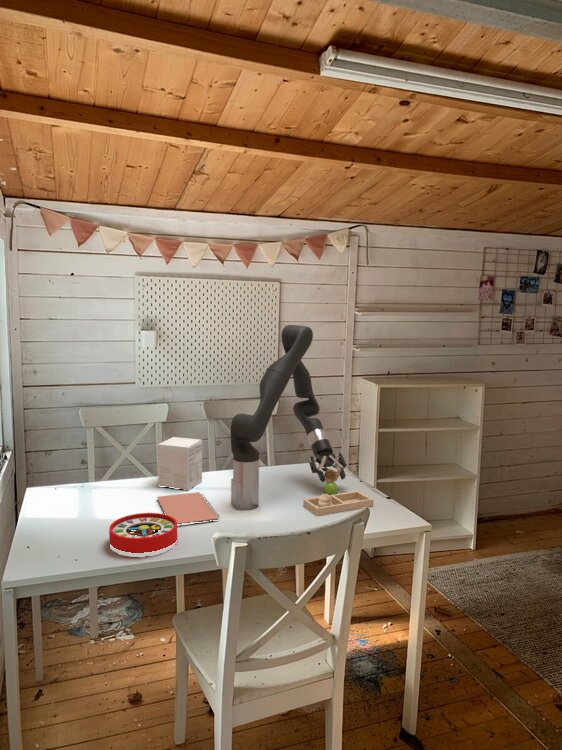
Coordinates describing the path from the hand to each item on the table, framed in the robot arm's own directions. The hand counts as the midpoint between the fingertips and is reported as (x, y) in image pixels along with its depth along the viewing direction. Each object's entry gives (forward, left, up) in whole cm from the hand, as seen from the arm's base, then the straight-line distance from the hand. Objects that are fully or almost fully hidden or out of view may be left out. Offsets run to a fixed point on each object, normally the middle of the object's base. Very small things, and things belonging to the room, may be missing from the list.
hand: (333, 480), depth 215 cm
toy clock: (-74, -13, -7) cm, 75 cm away
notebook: (-54, +8, -7) cm, 56 cm away
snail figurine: (0, +1, -7) cm, 7 cm away
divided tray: (-5, -12, -6) cm, 14 cm away
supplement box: (-49, +36, -7) cm, 61 cm away
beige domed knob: (-11, -12, -5) cm, 17 cm away
